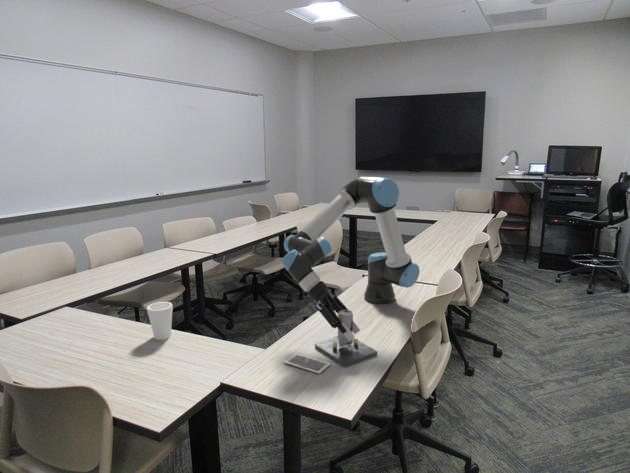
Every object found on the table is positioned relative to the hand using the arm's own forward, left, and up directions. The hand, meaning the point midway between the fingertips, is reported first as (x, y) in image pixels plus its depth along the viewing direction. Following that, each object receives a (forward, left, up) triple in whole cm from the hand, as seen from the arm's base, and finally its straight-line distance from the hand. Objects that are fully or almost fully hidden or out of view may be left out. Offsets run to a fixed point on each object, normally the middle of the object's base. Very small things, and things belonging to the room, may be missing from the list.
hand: (354, 335), depth 151 cm
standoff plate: (+2, -3, -7) cm, 8 cm away
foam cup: (+54, -56, -7) cm, 78 cm away
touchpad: (+19, -4, -8) cm, 20 cm away
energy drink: (+2, -3, -4) cm, 5 cm away
